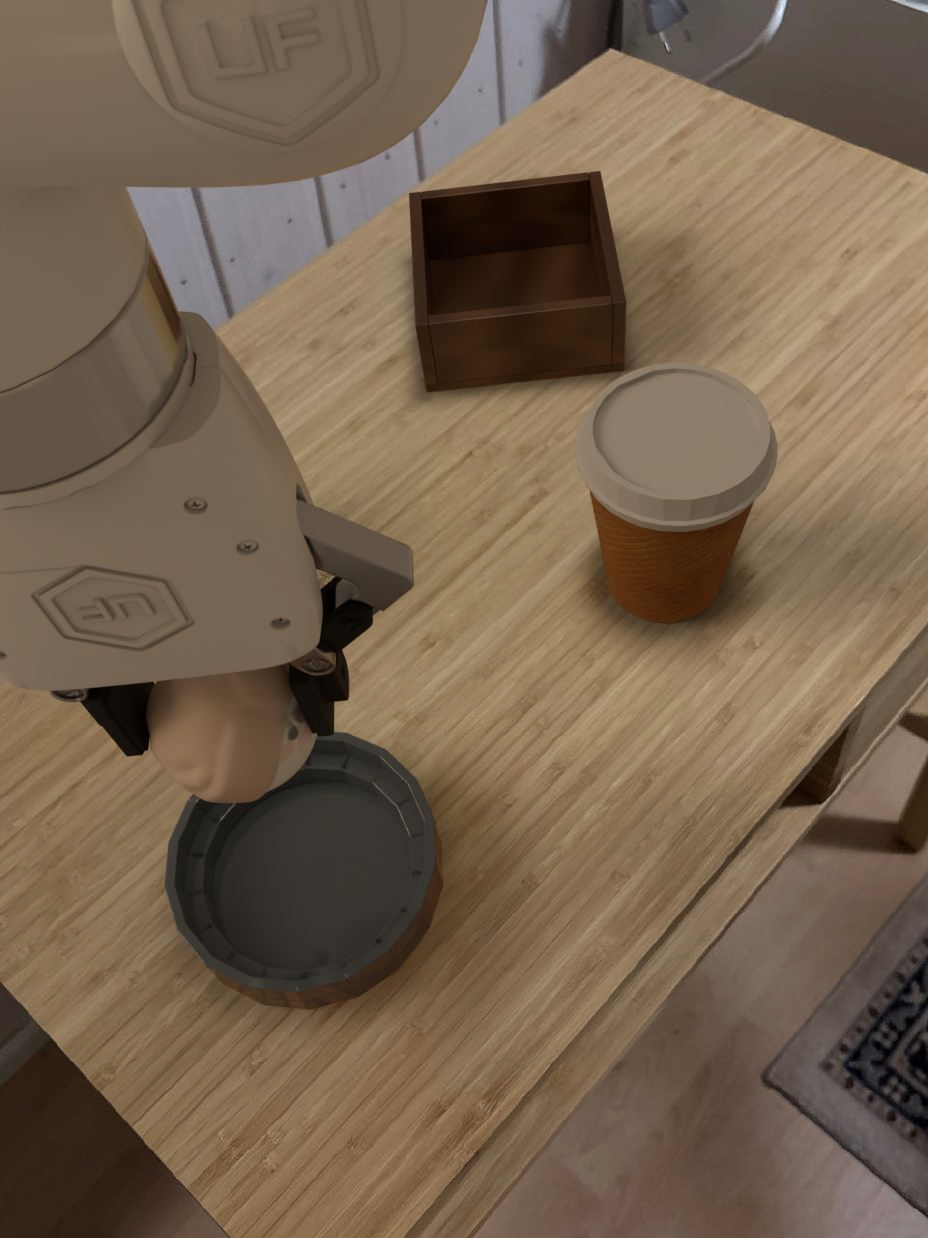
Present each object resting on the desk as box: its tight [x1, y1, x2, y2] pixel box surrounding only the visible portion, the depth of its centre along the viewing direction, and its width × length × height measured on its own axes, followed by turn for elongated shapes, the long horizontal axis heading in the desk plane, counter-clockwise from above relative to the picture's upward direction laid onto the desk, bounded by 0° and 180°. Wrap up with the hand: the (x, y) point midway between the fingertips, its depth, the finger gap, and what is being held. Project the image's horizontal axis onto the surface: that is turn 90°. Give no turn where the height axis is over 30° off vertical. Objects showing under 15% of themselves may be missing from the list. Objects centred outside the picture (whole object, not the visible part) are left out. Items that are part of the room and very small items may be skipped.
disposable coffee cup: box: [574, 362, 779, 624], centre depth 59 cm, size 10×10×12 cm
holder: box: [408, 170, 627, 392], centre depth 74 cm, size 13×13×6 cm
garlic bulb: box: [146, 663, 317, 803], centre depth 41 cm, size 7×6×8 cm
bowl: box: [164, 731, 444, 1011], centre depth 54 cm, size 13×13×4 cm
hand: (232, 708), depth 41 cm, fingers closed on garlic bulb, 6 cm apart
